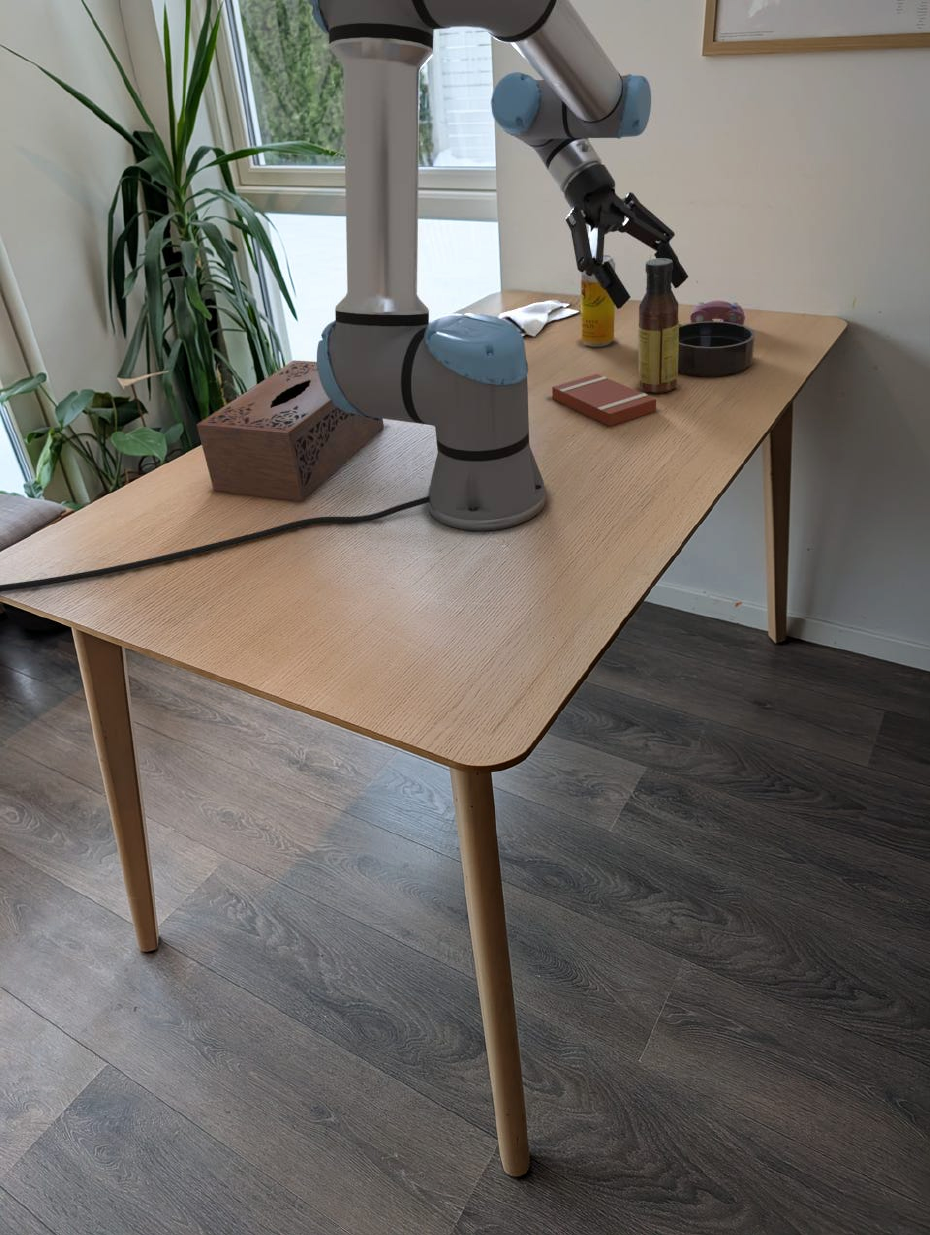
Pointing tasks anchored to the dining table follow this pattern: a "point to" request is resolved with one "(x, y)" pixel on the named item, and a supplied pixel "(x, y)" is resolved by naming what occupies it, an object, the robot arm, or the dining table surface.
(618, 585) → the dining table surface
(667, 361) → the sauce bottle
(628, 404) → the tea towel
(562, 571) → the dining table surface
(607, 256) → the beer can
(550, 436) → the dining table surface
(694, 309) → the video game controller
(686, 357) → the pan
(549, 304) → the cloth
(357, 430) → the tissue box cover
